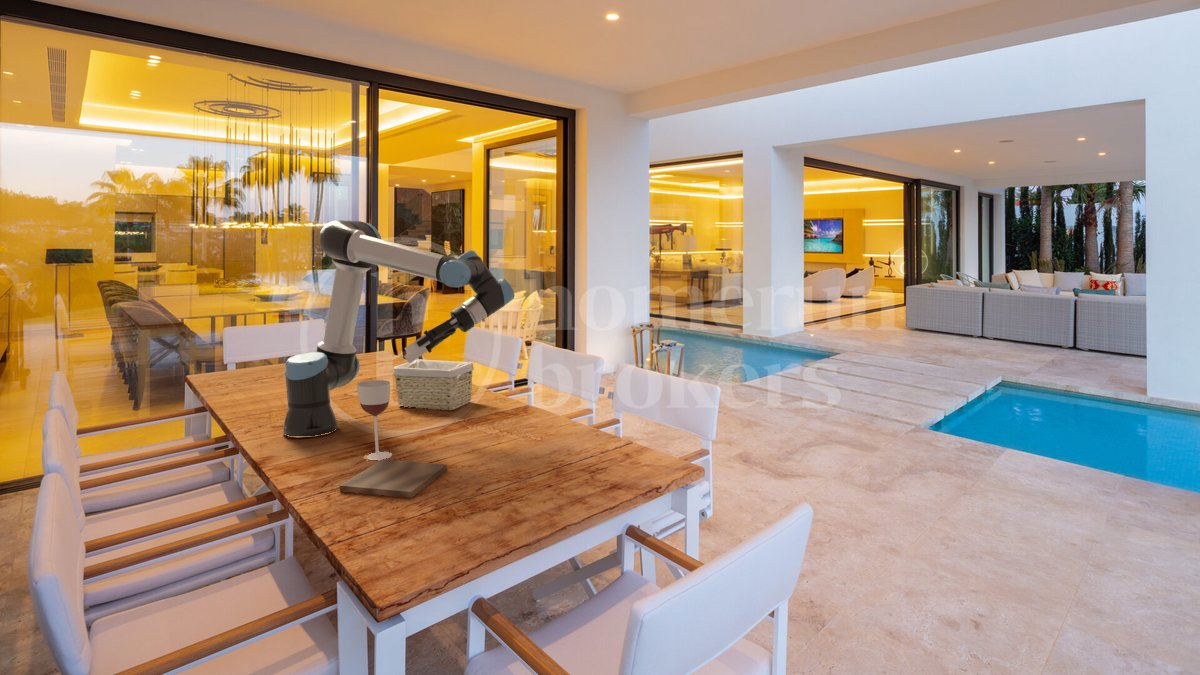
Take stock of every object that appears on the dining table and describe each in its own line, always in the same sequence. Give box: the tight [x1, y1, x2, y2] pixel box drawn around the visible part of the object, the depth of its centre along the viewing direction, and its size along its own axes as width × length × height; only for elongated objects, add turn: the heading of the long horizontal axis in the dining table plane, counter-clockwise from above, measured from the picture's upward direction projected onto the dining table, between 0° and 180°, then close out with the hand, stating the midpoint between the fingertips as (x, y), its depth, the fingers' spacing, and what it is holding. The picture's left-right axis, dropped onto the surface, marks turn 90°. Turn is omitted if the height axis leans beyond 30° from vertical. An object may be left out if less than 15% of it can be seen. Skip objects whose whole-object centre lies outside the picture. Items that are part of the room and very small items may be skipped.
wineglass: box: [356, 379, 393, 461], centre depth 167 cm, size 8×9×20 cm
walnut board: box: [339, 459, 448, 499], centre depth 151 cm, size 18×18×2 cm
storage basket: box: [392, 358, 475, 411], centre depth 221 cm, size 24×16×15 cm
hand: (406, 356), depth 178 cm, fingers open, 13 cm apart
